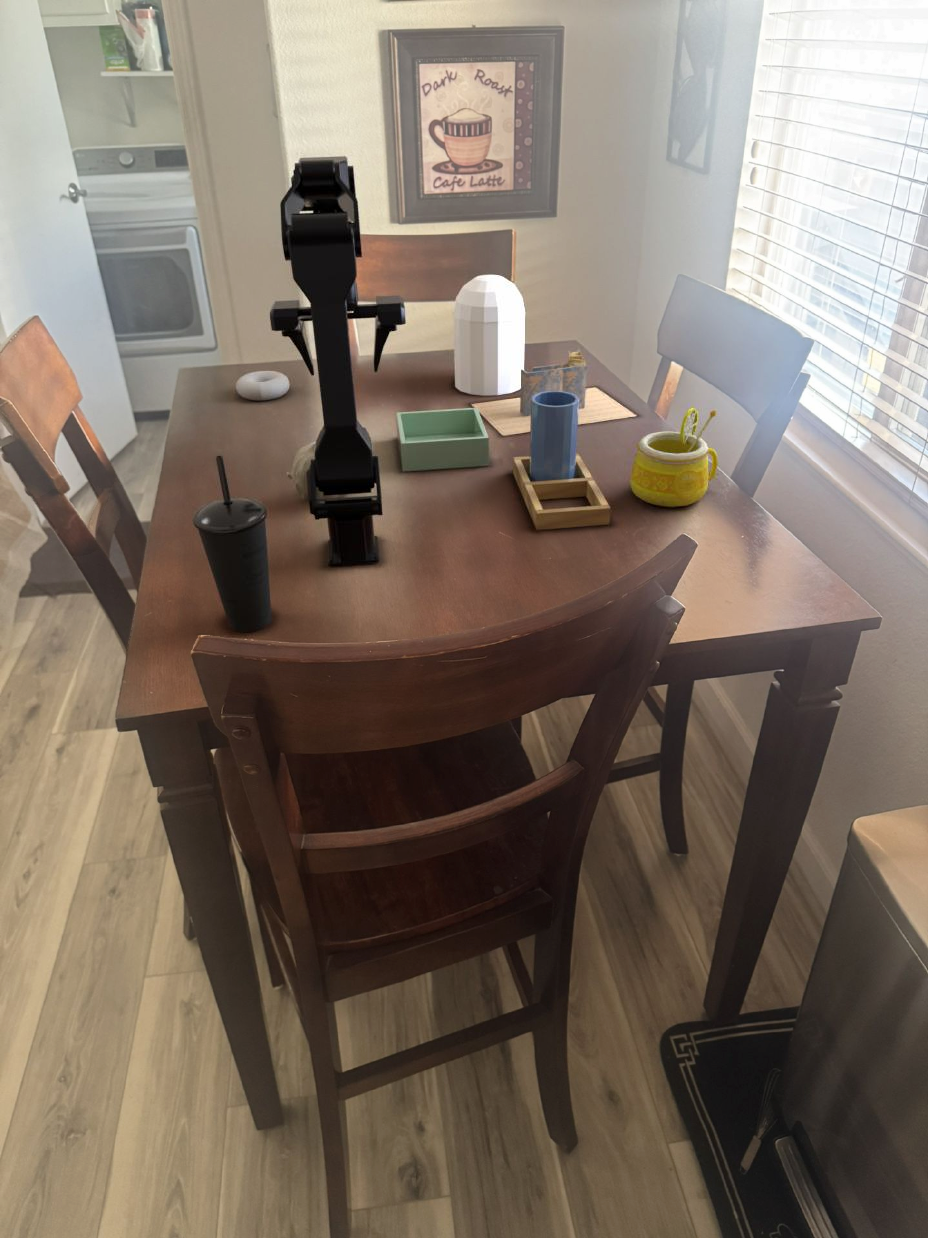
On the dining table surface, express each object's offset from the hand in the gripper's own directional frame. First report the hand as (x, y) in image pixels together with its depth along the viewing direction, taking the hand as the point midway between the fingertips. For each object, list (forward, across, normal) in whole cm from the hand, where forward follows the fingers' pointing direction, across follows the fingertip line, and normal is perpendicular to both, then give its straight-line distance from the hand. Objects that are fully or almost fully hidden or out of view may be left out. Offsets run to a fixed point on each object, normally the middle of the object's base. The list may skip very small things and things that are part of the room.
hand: (344, 372), depth 126 cm
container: (+15, -26, -35) cm, 46 cm away
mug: (+15, -46, +18) cm, 51 cm away
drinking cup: (+14, +12, +43) cm, 46 cm away
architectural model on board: (+15, -35, -19) cm, 43 cm away
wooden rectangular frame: (+14, -29, +16) cm, 36 cm away
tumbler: (+14, -29, +12) cm, 35 cm away
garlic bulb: (+15, +4, +12) cm, 19 cm away
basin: (+15, -14, -3) cm, 21 cm away
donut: (+15, +17, -36) cm, 43 cm away
